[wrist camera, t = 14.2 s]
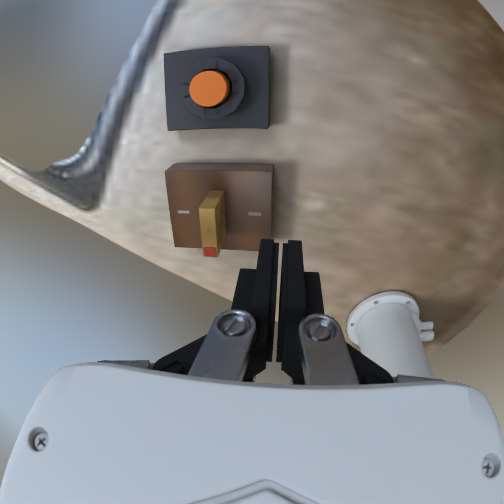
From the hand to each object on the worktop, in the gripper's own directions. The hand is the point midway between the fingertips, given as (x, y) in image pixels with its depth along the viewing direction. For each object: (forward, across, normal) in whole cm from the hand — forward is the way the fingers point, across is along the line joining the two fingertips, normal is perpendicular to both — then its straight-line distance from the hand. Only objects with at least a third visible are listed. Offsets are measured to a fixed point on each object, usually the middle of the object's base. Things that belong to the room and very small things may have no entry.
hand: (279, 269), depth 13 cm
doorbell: (+23, +7, -7) cm, 25 cm away
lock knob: (+20, +7, +7) cm, 22 cm away
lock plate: (+23, +7, +7) cm, 25 cm away
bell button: (+19, +7, -7) cm, 22 cm away
